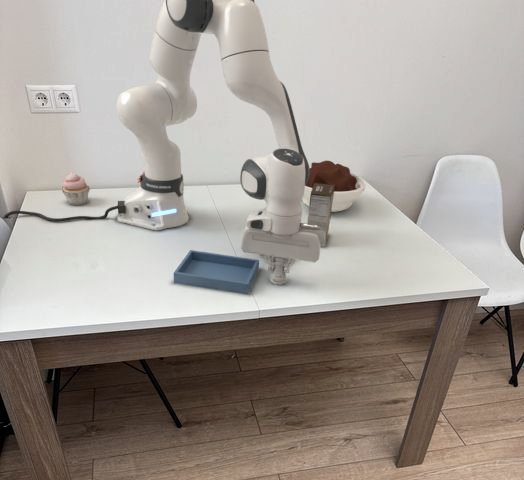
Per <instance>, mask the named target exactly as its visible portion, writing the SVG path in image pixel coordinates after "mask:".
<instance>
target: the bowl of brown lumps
mask: <svg viewBox="0 0 524 480" xmlns="http://www.w3.org/2000/svg"><path fill="white" fill-rule="evenodd" d="M310 166H311V167H309V168H310V175H309V179H308V181H307V184H306V185H305V189H304V195H303V197H302V201H301V203H303V204H304V205H306V206H307V208H309V204H310V195H311V191H312V188H313V185H314V183H318V184H327V185H335V189H334V195H333V203H332V209H331V213H333V212H334V213H336V212H342V211H345V210H347V209H349V208H350V207H351V206H352V205H353V204H354V201H355V200H357V199H358V198H359V197H360V196H361V195H363V192H364V191H365V189H366V181H365V180H364V179H363V178H362V177H361V176H360V175H357V174H356V173H353V172H351V169H350V168H349V166H345V165H342V164H340V163H336V164H335V163H334V162H333V161H331V160H324V161H320V162H315V161H313V162H311V165H310Z"/></svg>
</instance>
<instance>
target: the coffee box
mask: <svg viewBox="0 0 524 480" xmlns="http://www.w3.org/2000/svg"><path fill="white" fill-rule="evenodd" d="M334 189H335V185H327V184H318V183H314V185H313V188H312V191H311V195H310V204H309V207H308V213H307V222H306V224H309V225H318V226H319V227H320V228H322V229H323V231H324V238H323V241H322V242H321V247H322V248H324V247H326V244H327V240H328V236H329V230H330V229H329V228H330V223H331V215H332V212H331V209H332V203H333V195H334ZM318 230H320V229H318Z"/></svg>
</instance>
